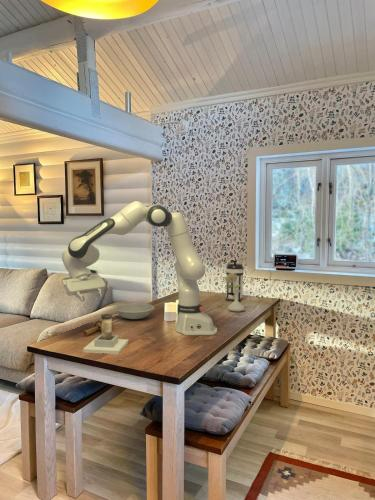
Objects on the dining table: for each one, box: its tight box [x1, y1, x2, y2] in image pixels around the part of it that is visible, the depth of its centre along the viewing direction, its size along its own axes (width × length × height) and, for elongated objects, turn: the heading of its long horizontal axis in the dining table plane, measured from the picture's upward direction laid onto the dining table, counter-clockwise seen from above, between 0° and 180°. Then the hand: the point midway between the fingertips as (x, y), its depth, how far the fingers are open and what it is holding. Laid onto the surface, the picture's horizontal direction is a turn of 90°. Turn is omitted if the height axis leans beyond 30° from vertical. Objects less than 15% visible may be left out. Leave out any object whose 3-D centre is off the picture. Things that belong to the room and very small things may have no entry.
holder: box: [82, 334, 129, 355], centre depth 171 cm, size 16×16×4 cm
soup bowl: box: [113, 302, 155, 320], centre depth 224 cm, size 24×24×7 cm
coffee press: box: [225, 259, 245, 303], centre depth 277 cm, size 17×16×30 cm
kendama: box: [82, 320, 102, 337], centre depth 195 cm, size 8×6×18 cm
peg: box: [100, 313, 113, 340], centre depth 171 cm, size 5×5×13 cm
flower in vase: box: [225, 273, 246, 313], centre depth 245 cm, size 13×11×25 cm
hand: (91, 298), depth 178 cm, fingers open, 8 cm apart
